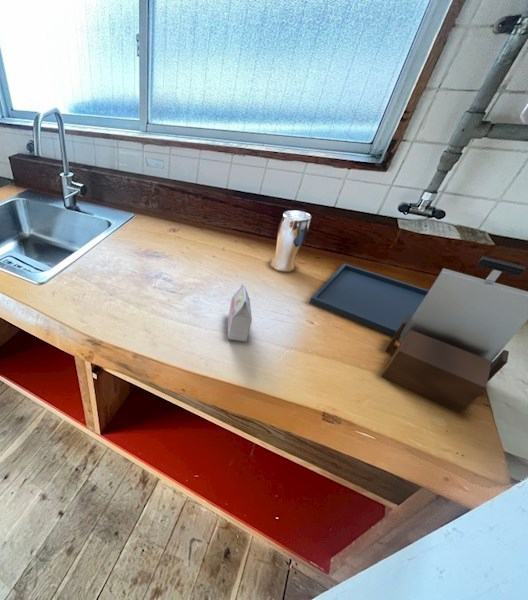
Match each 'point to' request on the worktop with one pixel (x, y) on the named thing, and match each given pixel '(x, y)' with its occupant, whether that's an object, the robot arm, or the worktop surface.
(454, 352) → the stand
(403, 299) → the tray
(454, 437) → the worktop surface
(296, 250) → the silver metal vase
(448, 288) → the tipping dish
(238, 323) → the grey boxy piece
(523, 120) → the robot arm
